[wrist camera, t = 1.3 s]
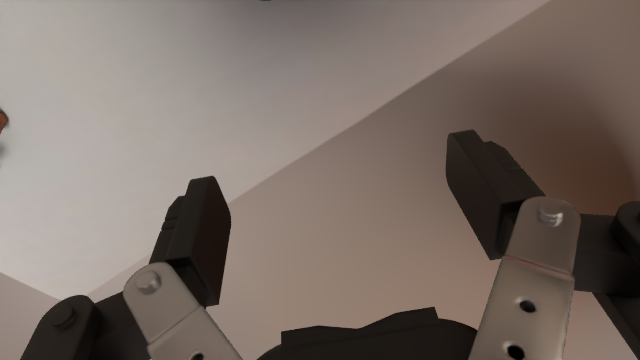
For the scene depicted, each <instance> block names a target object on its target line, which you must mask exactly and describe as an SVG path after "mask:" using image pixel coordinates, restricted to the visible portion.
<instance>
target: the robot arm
mask: <svg viewBox="0 0 640 360" xmlns="http://www.w3.org/2000/svg"><path fill="white" fill-rule="evenodd" d="M446 178H447V183H448V186H449V188H450V190H451V191H452V193H453V195H454V197H455V198H456V200H457V202H458V204H459V206H460V208H461V209H462V211H463V213H464V214H465V216H466V218H467V220H468V222H469V224H470V225H471V227H472V229H473V231H474V232H475V234H476V236H477V238H478V240H479V241H480V243H481V245H482V247H483V249H484V250H485V252H486V254H487V256H488V257H489V259H490V260H495V259H501V258H502V260H501V263H500V265H499V268H498V271H497V275H496V277H495V280H494V283H493V287H492V289H491V293H490V295H489V298H488V301H487V304H486V308H485V311H484V313H483V317H482V320H481V323H480V326H479V329H478V330H476V329H474V328H472V327H470V326H468V325H465V324H463V323H459V322H456V321H452V320H447V319H439V318H438V316H437V313H436V310H435V307H429V308H423V309H417V310H411V311H405V312H399V313H395V314H392V315H390V316H388V317H385V318H383V319H381V320H379V321H376V322H374V323H372V324H369V325H367V326H365V327H362V328H358V329H352V328H340V327H328V326H313V327H307V328H300V329H295V330H289V331H282V332H281V344H280V345H278V346H276V347H274V348H273V349H270V350H269V351H267V352H266V353H264V354H263V355H262V356H260V357H259V358H258V359H257V360H563V353H564V347H565V341H566V334H567V328H568V322H569V316H570V310H571V303H572V296H573V291H574V290H578V291H587V292H592V293H593V295H594V296H595V298H596V299H597V300H598V302H599V304H600V305H601V306H602V308H603V309H604V311H605V312H606V314H607V315H608V317H609V318H610V319H611V321H612V322H613V324H614V325H615V327H616V328H617V329H618V331H619V333H620V334H621V335H622V337H623V338H624V340H625V341H626V343H627V344H628V346H629V347H630V348H631V350H632V351H633V353H634V354H635V356H636V357H637V359H638V360H640V201H633V202H628V203H625V204H623V205H621V206H620V207H619V209H618V211H617V213H616V215H615V216H608V215H592V214H581V213H579V212H578V211H577V210H576V209H575V208H574V207H573V206H572V205H570V204H569V203H567V202H565V201H563V200H560V199H557V198H554V197H546V195H545V194H544V193H543V192H542V191H541V190H540V189H539V187H538V186H537V185H536V184H535V183H534V181H533V180H532V179H531V178H530V177H529V176H528V175H527V173H526V172H525V171H524V170H523V169H521V168H520V165H519V164H518V163H517V162H516V161H515V160H514V159H513V157H512V156H511V155H510V154H509V153H508V151H507V150H506V149H505V148H503V147H501V146H499V145H497V144H496V143H494V142H492V141H489V142H483V141H482V139H481V138H480V137H479V135H478V134H477V133H476V132H475V131H474V130H466V131H460V132H455V133H450V134H449V135H448V139H447V155H446ZM230 229H231V216H230V211H229V208H228V206H227V203H226V201H225V199H224V196H223V194H222V192H221V189H220V187H219V185H218V182H217V180H216V178H215V177H214V176H208V177H203V178H197V179H192V180H190V182H189V185H188V188H187V191H186V194H185V196H179V197H178V198H177V199H176V200H175V201H174V202H173V204H172V205H171V206H170V207H169V209H168V211H167V214H166V217H165V222H164V223H163V225H162V228H161V230H162V231H160V234H159V236H158V239H157V242H156V245H155V247H154V250H153V253H152V256H151V259H150V261H149V264H148V265H146V266H144V267H143V268H141V269H139V270H138V271H136V272H135V273H134V274H133V275H132V276H131V277H130V279H129V280H128V281H127V283H126V284H125V286H124V290H123V291H122V292H120V293H118V294H115V295H113V296H111V297H109V298H106V299H104V300H101V301H99V302H97V303H93V302H92V300H91V299H90V298H89V297H87V296H84V295H76V296H72V297H69V298H66V299H64V300H62V301H61V302H59V303H57V304H56V305H55V306H53V307H52V308H51V309H50V310H49V311H48V312H47V313H46V314H45V315H44V316H43V317H42V319H41V320H40V322H39V324H38V326H37V328H36V330H35V332H34V333H33V335H32V338H31V339H30V342H29V344H28V345H27V347H26V349H25V351H24V353H23V355H22V357H21V359H20V360H150V359H152V360H243V359H242V357H241V356H240V355H239V353H238V352H237V351H236V349H235V348H234V347H233V346H232V344H231V343H230V341H229V340H228V339H227V338H226V336H225V335H224V333H223V332H222V331H221V330H220V328H219V327H218V326H217V324H216V323H215V322H214V320H213V319H212V318H211V316H210V315H209V314H208V312H207V311H206V307H207V306H214V305H219V299H220V293H221V286H222V280H223V274H224V267H225V261H226V254H227V248H228V242H229V235H230Z"/></svg>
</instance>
